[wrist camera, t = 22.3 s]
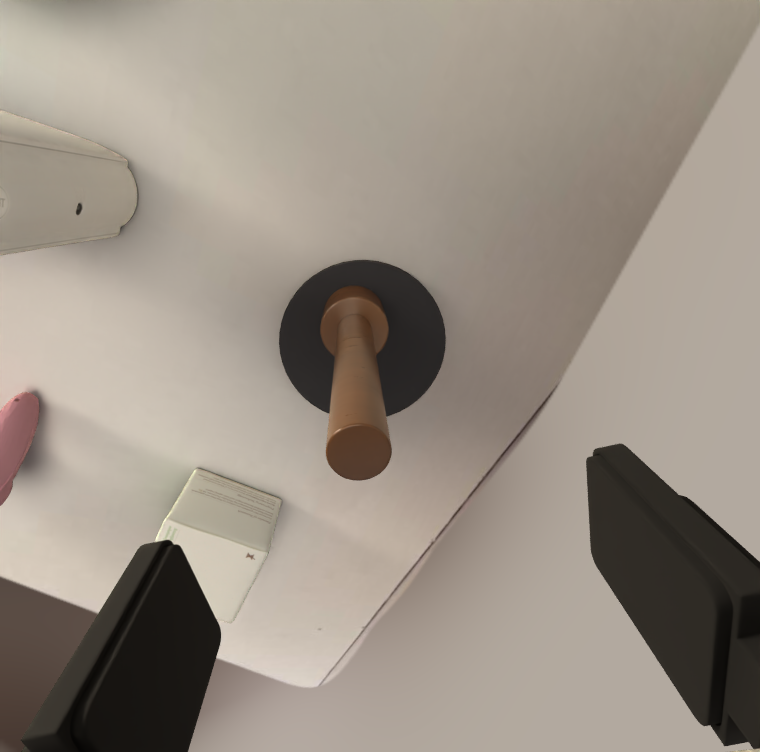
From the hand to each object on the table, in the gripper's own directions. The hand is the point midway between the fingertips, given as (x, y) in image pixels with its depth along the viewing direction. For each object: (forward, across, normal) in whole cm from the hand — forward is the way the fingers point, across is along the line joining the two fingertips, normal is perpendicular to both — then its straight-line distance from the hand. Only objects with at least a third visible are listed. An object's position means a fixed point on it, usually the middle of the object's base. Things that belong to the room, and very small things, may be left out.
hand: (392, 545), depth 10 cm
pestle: (+15, 0, -2) cm, 15 cm away
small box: (+16, +11, +9) cm, 22 cm away
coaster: (+16, 0, 0) cm, 16 cm away
